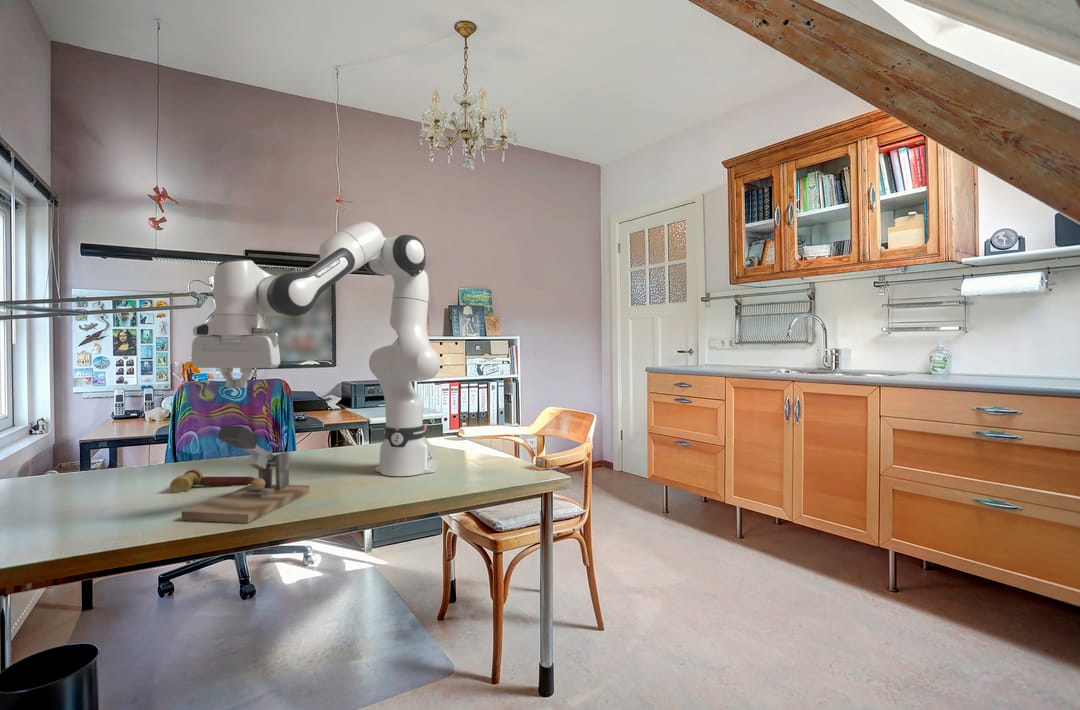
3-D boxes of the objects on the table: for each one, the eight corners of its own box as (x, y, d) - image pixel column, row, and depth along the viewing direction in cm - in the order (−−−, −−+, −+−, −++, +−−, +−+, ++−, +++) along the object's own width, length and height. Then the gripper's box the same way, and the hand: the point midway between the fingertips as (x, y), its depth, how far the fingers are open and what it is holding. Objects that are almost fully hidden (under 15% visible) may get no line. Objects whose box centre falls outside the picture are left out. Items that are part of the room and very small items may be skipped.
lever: (263, 474, 137) (270, 454, 140) (281, 475, 136) (287, 454, 139) (213, 448, 119) (221, 425, 122) (233, 449, 119) (241, 426, 121)
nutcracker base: (253, 491, 141) (252, 450, 141) (309, 493, 139) (308, 451, 139) (181, 520, 117) (181, 471, 117) (248, 523, 115) (247, 473, 115)
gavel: (266, 469, 154) (257, 477, 144) (265, 484, 154) (256, 494, 144) (185, 468, 149) (170, 477, 139) (184, 484, 149) (169, 494, 139)
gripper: (285, 328, 125) (286, 386, 125) (206, 329, 127) (207, 386, 128) (268, 327, 119) (269, 388, 119) (186, 328, 121) (187, 388, 121)
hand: (236, 387), depth 123 cm, fingers closed
